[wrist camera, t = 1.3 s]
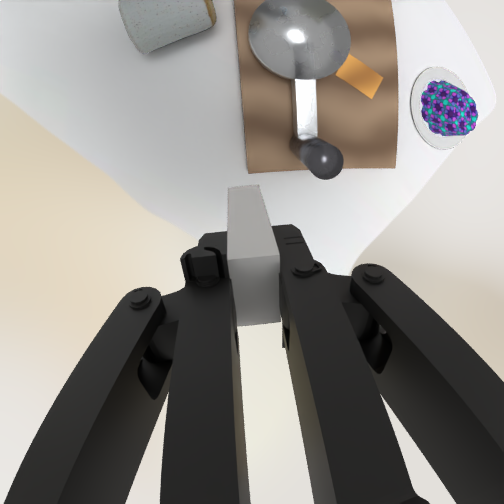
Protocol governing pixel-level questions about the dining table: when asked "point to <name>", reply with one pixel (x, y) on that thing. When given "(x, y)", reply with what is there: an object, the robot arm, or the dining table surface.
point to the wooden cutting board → (327, 94)
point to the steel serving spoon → (303, 67)
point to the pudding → (443, 108)
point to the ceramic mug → (164, 20)
